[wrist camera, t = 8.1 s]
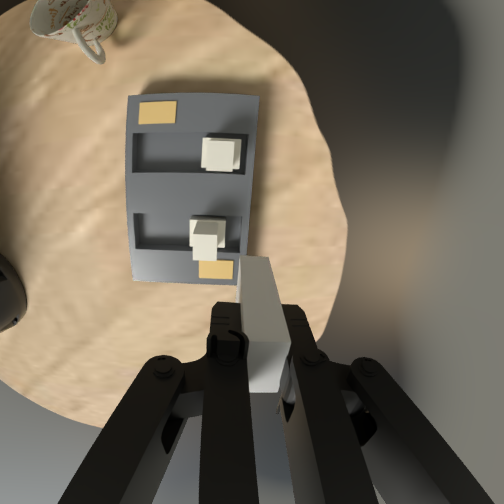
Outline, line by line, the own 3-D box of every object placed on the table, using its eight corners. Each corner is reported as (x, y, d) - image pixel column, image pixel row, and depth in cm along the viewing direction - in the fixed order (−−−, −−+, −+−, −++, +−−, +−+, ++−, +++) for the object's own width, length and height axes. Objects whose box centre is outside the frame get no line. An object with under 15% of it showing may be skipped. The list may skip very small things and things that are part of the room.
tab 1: (202, 165, 29) (197, 172, 24) (203, 137, 28) (199, 138, 23) (238, 167, 30) (240, 174, 25) (240, 139, 28) (243, 140, 23)
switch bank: (139, 269, 35) (132, 281, 32) (136, 98, 27) (127, 95, 24) (242, 273, 37) (244, 286, 34) (256, 99, 28) (260, 95, 25)
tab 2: (191, 241, 33) (185, 261, 28) (191, 215, 32) (184, 231, 26) (224, 242, 33) (224, 263, 28) (225, 217, 32) (225, 233, 27)
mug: (115, -9, 19) (86, -41, 10) (148, 50, 24) (119, 23, 15) (64, 27, 20) (24, 8, 11) (91, 89, 25) (47, 79, 16)
